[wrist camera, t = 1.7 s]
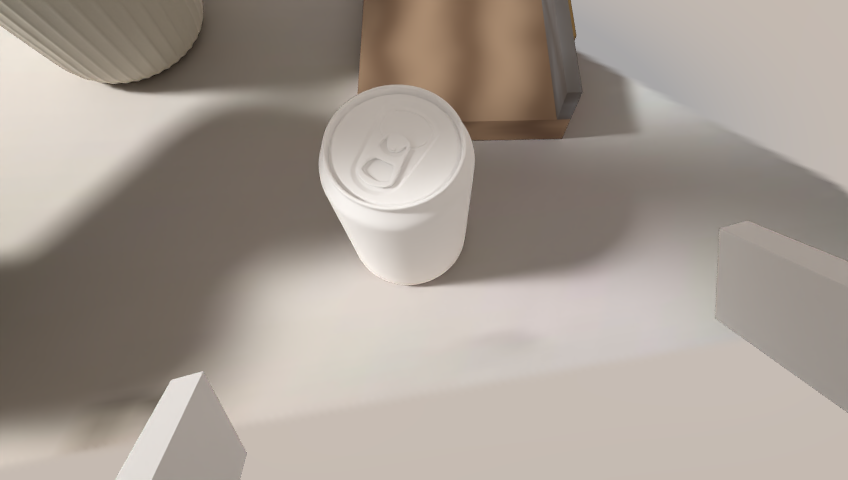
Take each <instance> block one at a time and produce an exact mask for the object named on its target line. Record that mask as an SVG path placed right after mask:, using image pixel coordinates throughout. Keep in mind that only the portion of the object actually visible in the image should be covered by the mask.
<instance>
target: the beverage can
mask: <svg viewBox="0 0 848 480" xmlns="http://www.w3.org/2000/svg"><path fill="white" fill-rule="evenodd" d="M474 167H475V154H474V148H473V144H472V140H471V137H470V135H469V133H468V131H467V129H466V127H465V126H464V124H463V123H462V121H461V119H460V117H459V116H458V114H457V113H456V111H455V110H454V109H453V108H452V107H451V106H450V105H449V104H448V103H447V102H446V101H445V100H444V99H442V98H441V97H439V96H438V95H436V94H434V93H432V92H430V91H428V90H425V89H422V88H419V87H415V86H409V85H385V86H380V87H376V88H372V89H369V90H366V91H364V92H362V93H360V94H358V95H356V96H354V97H353V98H351V99H350V100H348V101H347V102H346V103H344V104H343V105H342V106H341V107H340V108H339V109H338V110H337V111H336V113H335V114H334V115H333V116H332V118H331V119H330V121H329V123H328V125H327V127H326V129H325V132H324V135H323V139H322V146H321V150H320V155H319V175H320V180H321V184H322V187H323V189H324V191H325V194H326V196H327V197H328V199H329V201H330V203H331V205H332V207H333V209H334V211H335V213H336V214H337V216H338V218H339V220H340V222H341V224H342V226H343V228H344V230H345V231H346V233H347V235H348V237H349V239H350V241H351V243H352V245H353V247H354V248H355V250H356V252H357V254H358V256H359V258H360V259H361V261H362V262H363V264H364V265H365V266H366V267H367V268H368V269H369V270H370V271H371V272H372V273H373V274H375V275H376V276H378V277H379V278H381V279H383V280H385V281H388V282H391V283H395V284H400V285H415V284H421V283H425V282H428V281H431V280H433V279H435V278H437V277H439V276H440V275H442V274H443V273H445V272H446V271H447V270H448V269H449V268H450V267H451V266H452V265H453V264H454V263H455V261H456V260H457V258H458V257H459V255H460V253H461V251H462V248H463V245H464V240H465V234H466V226H467V219H468V212H469V204H470V197H471V190H472V182H473V175H474Z"/></svg>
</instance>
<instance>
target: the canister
mask: <svg viewBox="0 0 848 480" xmlns="http://www.w3.org/2000/svg"><path fill="white" fill-rule="evenodd" d="M202 21H203V1H202V0H0V26H2V27H3V28H4V29H6V30H7V31H9V32H10V33H12V34H13V35H14V36H16V37H17V38H19V39H20V40H22V41H23V42H24V43H26V44H27V45H29V46H30V47H32V48H33V49H34V50H36V51H37V52H39V53H40V54H42V55H43V56H44V57H46V58H48V59H49V60H50V61H52V62H53V63H55V64H56V65H58V66H59V67H61V68H63V69H65V70H66V71H68V72H70V73H72V74H75V75H78V76H80V77H82V78H85V79H88V80H92V81H97V82H100V83H111V84H117V83H129V82H132V81H140V80H141V79H145V78H150V77H151V76H153V75H155V74H160V73H161V72H162V71H163V70H165V69H169V68H170V66H171V65H173V64H174V63H177V62H178V61H179V59H180V58H181V57H183V56H185V55H186V52H187V51H188V50H189V49H191V48H192V46H193V43H194V41H196V40H197V38H198V33H199V32H200V30H201V26H202V25H201V24H202Z"/></svg>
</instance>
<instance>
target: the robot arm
mask: <svg viewBox="0 0 848 480" xmlns="http://www.w3.org/2000/svg"><path fill="white" fill-rule="evenodd" d="M715 319H717V320H718V321H719V322H721V323H722V324H724V325H725V326H727V327H728V328H729V329H731V330H732V331H734V332H735V333H736V334H738V335H739V336H741V337H742V338H743V339H745V340H746V341H748V342H749V343H750V344H752V345H753V346H755V347H756V348H758V349H759V350H760V351H762V352H763V353H764V354H766V355H767V356H769V357H770V358H772V359H773V360H774V361H776V362H777V363H779V364H780V365H781V366H783V367H784V368H786V369H787V370H789V371H790V372H791V373H793V374H794V375H795V376H797V377H798V378H800V379H801V380H802V381H804V382H805V383H807V384H808V385H809V386H811V387H812V388H814V389H815V390H816V391H818V392H819V393H821V394H822V395H824V396H825V397H826V398H828V399H829V400H831V401H832V402H833V403H835V404H836V405H838V406H839V407H840V408H842V409H843V410H845V411H846V412H847V413H848V261H846V260H844V259H841V258H839V257H836V256H834V255H831V254H829V253H826V252H824V251H822V250H819V249H817V248H814V247H812V246H809V245H807V244H804V243H802V242H799V241H797V240H794V239H792V238H790V237H787V236H785V235H782V234H780V233H777V232H775V231H772V230H770V229H767V228H765V227H762V226H760V225H758V224H755V223H753V222H750V221H748V220H747V221H743V222H740V223H736V224H733V225H729V226H725V227H722V228H719V244H718V264H717V284H716V304H715ZM246 455H247V452H246V451H245V448H244V446H243V445H242V443H241V441H240V439H239V437H238V435H237V433H236V431H235V430H234V428H233V426H232V424H231V422H230V420H229V418H228V416H227V415H226V413H225V411H224V409H223V407H222V405H221V403H220V401H219V400H218V398H217V396H216V394H215V392H214V390H213V388H212V386H211V385H210V383H209V381H208V379H207V377H206V375H205V373H204V371H201V372H198V373H194V374H191V375H187V376H183V377H180V378H176V379H173V380H171V381H170V383H169V384H168V386H167V388H166V390H165V392H164V393H163V395H162V397H161V399H160V400H159V402H158V404H157V406H156V408H155V409H154V411H153V413H152V415H151V417H150V418H149V420H148V422H147V424H146V425H145V427H144V429H143V431H142V433H141V434H140V436H139V438H138V440H137V441H136V443H135V445H134V447H133V449H132V450H131V452H130V454H129V456H128V457H127V459H126V461H125V463H124V465H123V466H122V468H121V470H120V472H119V474H118V475H117V477H116V479H115V480H240V477H241V474H242V470H243V466H244V462H245V458H246Z"/></svg>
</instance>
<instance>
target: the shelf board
mask: <svg viewBox="0 0 848 480" xmlns="http://www.w3.org/2000/svg"><path fill="white" fill-rule="evenodd" d="M575 38H576V30H575V24H574V18H573V12H572V6H571V0H364V4H363V19H362V35H361V50H360V66H359V81H358V94H360V93H362V92H364V91H366V90H369V89H372V88H376V87H380V86H385V85H409V86H415V87H419V88H422V89H425V90H428V91H430V92H432V93H434V94H436V95H438V96H439V97H441V98H442V99H444V100H445V101H446V102H447V103H448V104H449V105H450V106H451V107H452V108H453V109H454V110H455V111H456V113H457V114H458V116H459V117H460V119H461V121H462V123H463V124H464V126H465V127H466V129H467V131H468V133H469V135H470V137H471V140H517V139H562V137H563V135H564V133H565V131H566V128H567V126H568V124H569V121H570V119H571V117H572V115H573V112H574V110H575V108H576V106H577V103H578V101H579V99H580V97H581V94H582V86H581V80H580V74H579V67H578V61H577V55H576V48H575V42H574V40H575Z"/></svg>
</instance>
